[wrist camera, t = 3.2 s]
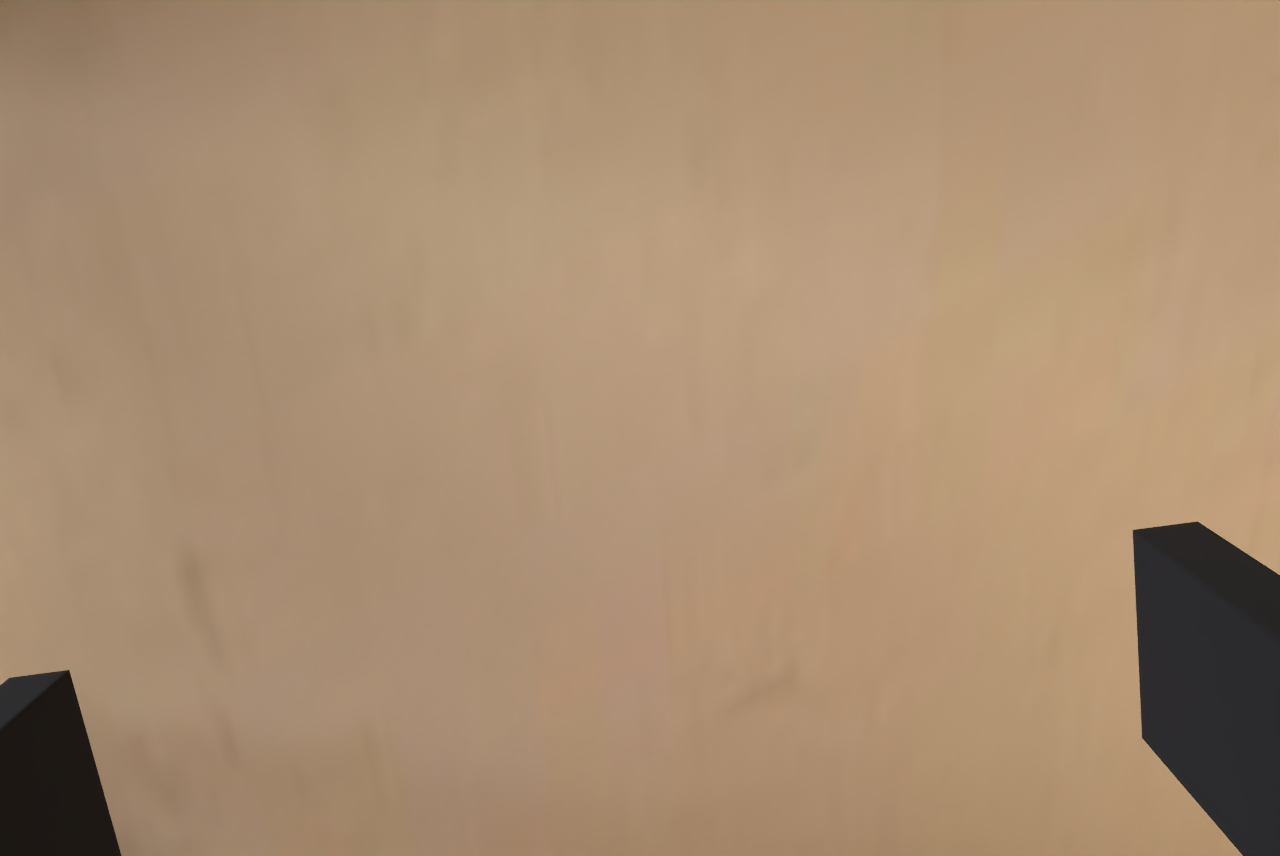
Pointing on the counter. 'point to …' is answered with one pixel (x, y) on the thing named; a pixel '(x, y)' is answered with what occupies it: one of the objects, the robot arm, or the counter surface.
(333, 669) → the counter surface
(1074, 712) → the counter surface
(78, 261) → the counter surface
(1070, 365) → the counter surface
